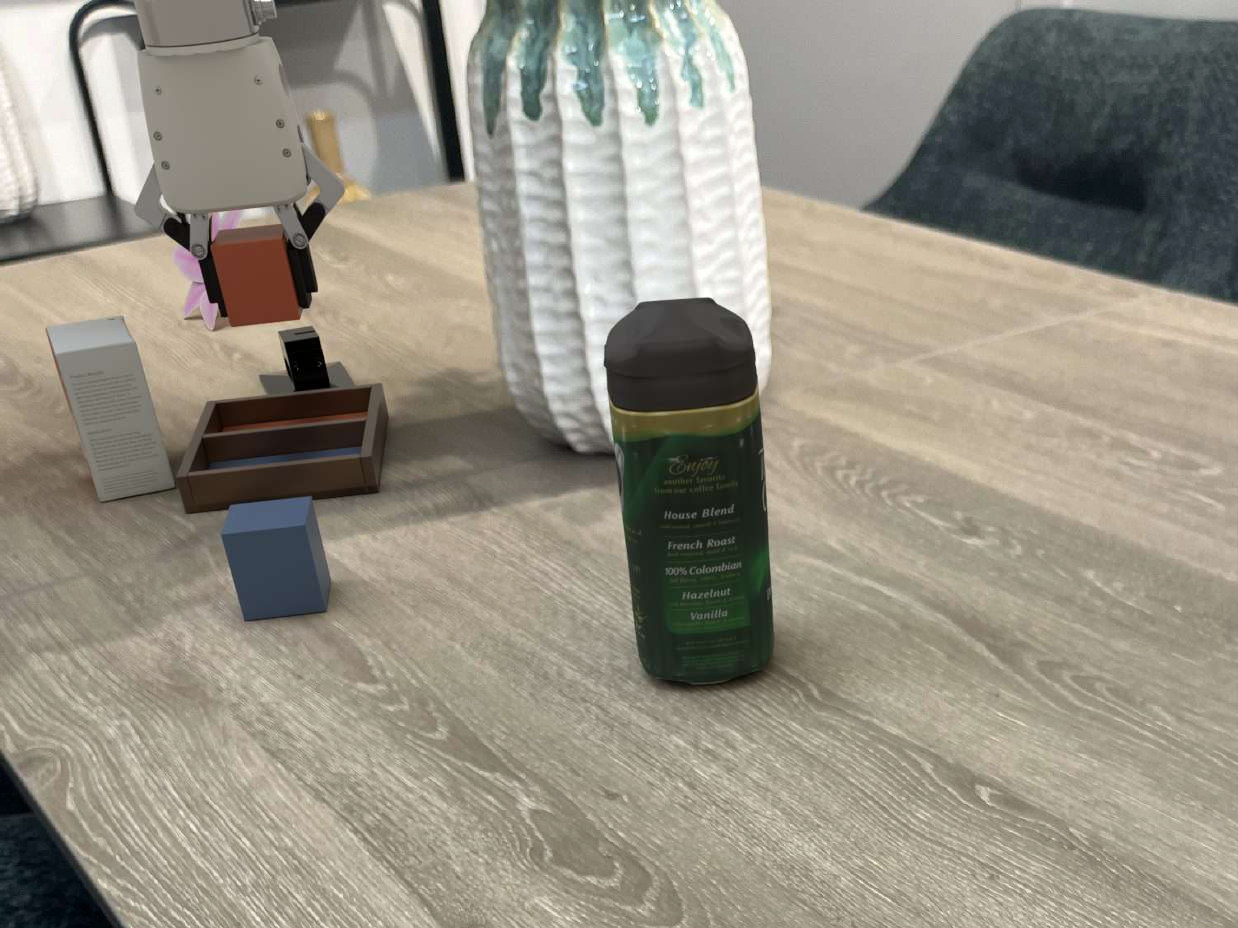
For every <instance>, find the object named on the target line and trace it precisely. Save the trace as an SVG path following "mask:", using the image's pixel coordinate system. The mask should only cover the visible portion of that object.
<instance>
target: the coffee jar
mask: <svg viewBox="0 0 1238 928" xmlns="http://www.w3.org/2000/svg"><path fill="white" fill-rule="evenodd" d="M606 337H607V338H606V341H605V343H604V346H603V367H604V368H605V373H606V389H607V398H608V407H609V416H610V425H611V433H612V442H613V450H614V460H615V467H616V477H617V486H618V495H619V500H620V501H619V502H620V509H621V518H622V526H623V534H624V541H625V549H626V560H627V564H628V565H627V567H628V577H629V587H630V595H631V596H630V597H631V609H632V615H633V623H634V634H635V639H636V646H637V647H636V649H637V654H638V658H639V661H640V663H641V665H642V668H643V669H644V670H645V672H646V673H647V674H648V675H649V676H651V677H652V678H654V679H657V680H658V679H659V680H666V681H667V680H668V681H674V682H681V683H687V684H690V685H714V684H719V683H725V682H728V681H730V680H732V679H735V678H737V677H741V676H744V675H748V674H751V673H753V672H757V671H761V670H763V669H764V668H765V667H766V666H767V665H768V664H769V662H770V661H771V659H772V656H773V653H774V649H775V647H774V646H775V632H774V631H775V628H774V626H775V625H774V605H773V603H774V602H773V589H772V571H771V558H770V539H769V517H768V515H769V514H768V494H767V492H768V491H767V478H766V477H767V476H766V473H767V472H766V463H765V446H764V435H763V434H764V433H763V423H762V422H763V421H762V412H761V401H760V390H759V389H760V387H759V378H758V372H757V371H758V370H757V358H756V357H757V356H756V350H755V346H754V338H753V334H752V331H751V329H750V327H749V325H748V323H747V321H745V319H744V318H742V317H741V316H740V315H738V314H737V313H735V312H733V311H732V310H730V309H728V308H726V307H725V306H722V305H720V304H719V303H717V302H716V301H715V299H714V298H712V297H709V296H705V297H687V298H673V299H658V300H647V301H646V300H645V301H640V302H639V303H638V304H637V305H636V306H635V307H634V309H633V310H631V311H630V312H629V313H627V314H626V315H625V316H623V317H622V318H621V319H619V320H618V321H617V322H616V323H615V324H614V325H613V326H612V327H611V329H610V330H609V331H608V333H607V336H606Z"/></svg>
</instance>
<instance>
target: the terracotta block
mask: <svg viewBox="0 0 1238 928" xmlns="http://www.w3.org/2000/svg"><path fill="white" fill-rule="evenodd" d="M288 238H289V237H288V235H287V233H286V231H285V229H284V227H283V225H282V224H281V223H273V224H265V225H254V226H247V227H238V228H235V229H226V230H219V231H218V233H217V235H216V237H215V238H214V240H213V242H212V244H211V246H210V247H211V251H212V255H213V259H214V263H215V267H216V271H217V275H218V279H219V283H220V287H221V290H222V294H223V298H224V302H225V306H226V310H227V314H228V317H227V319H228V321H229V325H230V327H231V328H236V327H237V328H238V327H245V326H255V325H263V324H264V325H265V324H274V323H282V322H292V321H300V319H301V318H302V314H303V311H304V309H302V307H299V303H298V299H297V294H296V290H295V286H294V281H293V277H292V273H291V268H290V264H289V260H288V255H287V252H288V249H289V244H288Z"/></svg>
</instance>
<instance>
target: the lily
mask: <svg viewBox="0 0 1238 928" xmlns="http://www.w3.org/2000/svg"><path fill="white" fill-rule="evenodd" d="M244 212H245V209H243V210H233V211H225V212H224V214H223V215H222V216H221V215H220V212H213V226H212V241H213V240H214V238H215V237H216V235H217V233H218V231H219V230H226V229H235V228H240V227H239V226H240V224H241V220H242V217H243V215H244ZM171 260H172V262H173V264H174V265H175V267H176V268H177V270H178V271H179V272H180V273H181V274H182V276H183V277H184V278H186V279H187V280H189V281H191V284H190V285H189V288H188V291H187V294H186V298H185V301H184V305H183V309H182V319H186V318H187V317H188V316H189V315H190V314H191V313H192V312H193V311H194V310H195V309H196V308H197V307H199V310H200V313H201V316H202V319H203V321H204V324H205V326H206V327H207V329H208V330H209V331H210V332H213V330H214V329H215V325H216V319H217V314H218V313H217V312H218V310H219V308H218V304H217V303H213V304H210V302H209V300H208V296H207V292H206V288H205V285H204V281H203V277H202V273H201V269H200V265H199V262H198V259H195V258H194V257H193V256H192V255H191V253H190V252H189V251H188V250H186V249H185V248H184V247H182V246H181V245H180V244H178V245H176V246H175V247H174V248H173V250H172V251H171Z"/></svg>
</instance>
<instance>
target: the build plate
mask: <svg viewBox="0 0 1238 928" xmlns="http://www.w3.org/2000/svg"><path fill="white" fill-rule="evenodd" d="M277 336H278V339H279V345H280V349H281V353H282V357H283V361H284V366H285V369H284V370H278V371H272V372H267V373H261V374H259V375H258V379H259V381H260V383H261V385H262V387H263V389H264V391H265V393H266V395H271V394H280V393H290V392H299V391H309V390H318V389H328V388H337V387H346V386H356V383H355V381H354V380H353V379H352V377H351V376H350V374H349V373H348V371H347V369H346V368H345V366H344V365H343V363H342V362H341V361H340V360H339V361H338V360H337V361H332V362H326V359H325V356H324V350H323V347H322V343H321V338H320V335H319V334H318V332H317V331H316V329H315V327H314V326H313V325H307V326H301V327H296V328H290V329H284V330H278V331H277Z"/></svg>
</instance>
